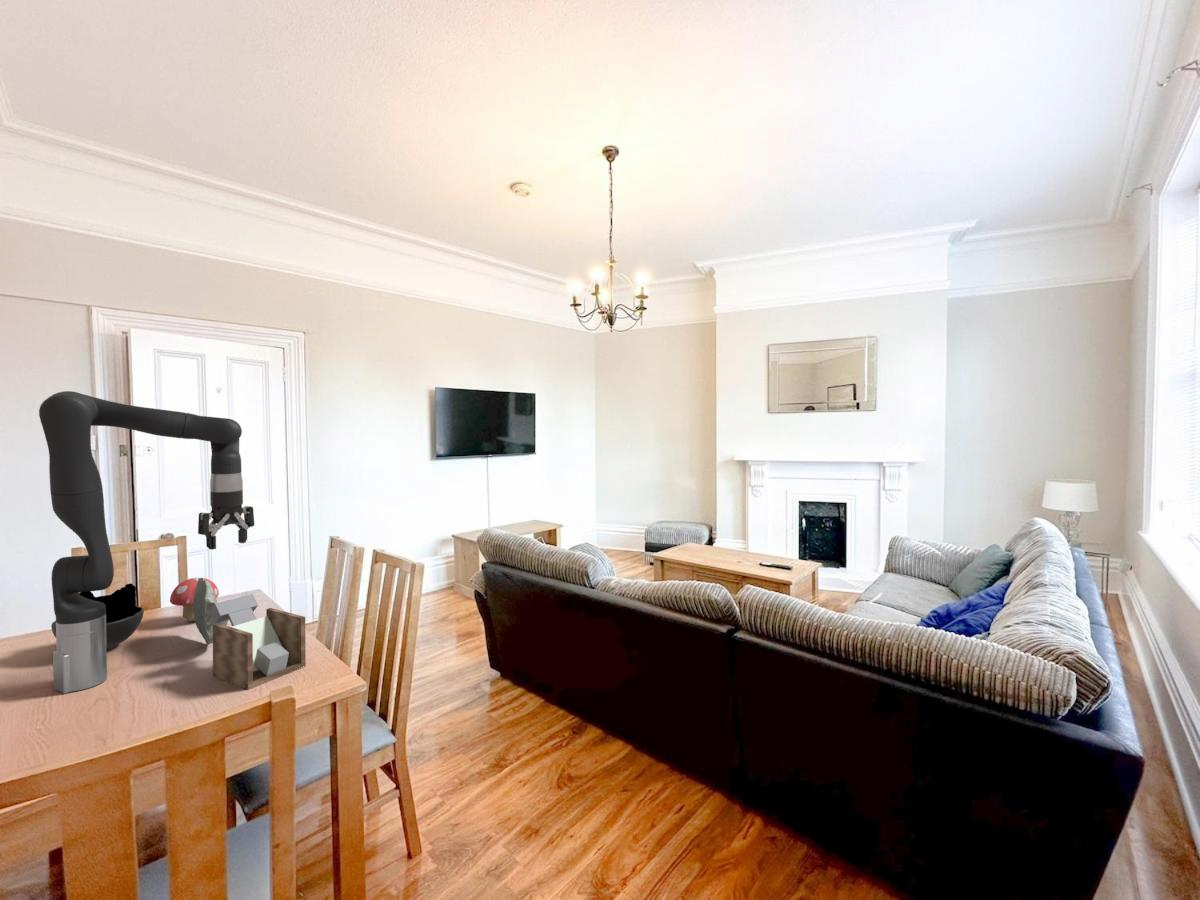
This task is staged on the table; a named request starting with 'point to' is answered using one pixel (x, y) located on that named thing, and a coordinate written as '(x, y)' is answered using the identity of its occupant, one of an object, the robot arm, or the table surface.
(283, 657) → the gray block
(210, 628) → the rock
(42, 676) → the table surface
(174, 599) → the decorative mushroom
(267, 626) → the trapdoor
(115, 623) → the coal bowl
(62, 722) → the table surface
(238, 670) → the wooden bench shelf
